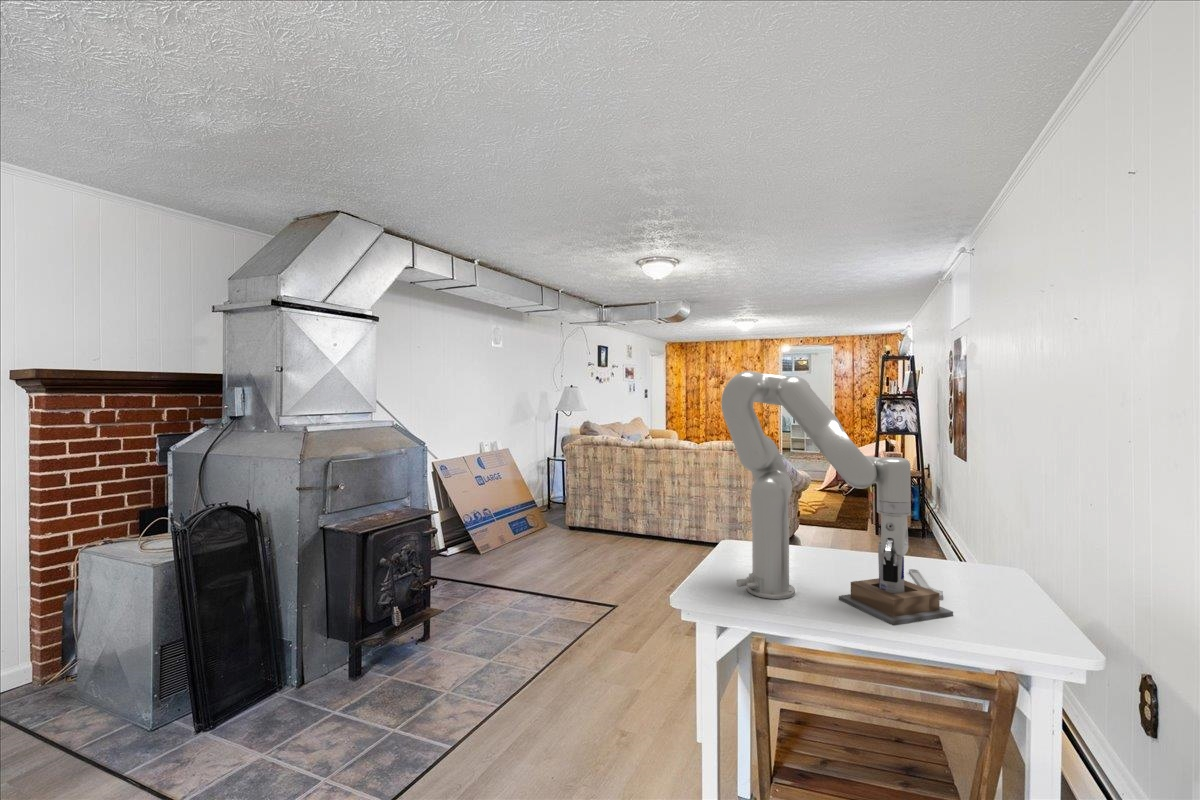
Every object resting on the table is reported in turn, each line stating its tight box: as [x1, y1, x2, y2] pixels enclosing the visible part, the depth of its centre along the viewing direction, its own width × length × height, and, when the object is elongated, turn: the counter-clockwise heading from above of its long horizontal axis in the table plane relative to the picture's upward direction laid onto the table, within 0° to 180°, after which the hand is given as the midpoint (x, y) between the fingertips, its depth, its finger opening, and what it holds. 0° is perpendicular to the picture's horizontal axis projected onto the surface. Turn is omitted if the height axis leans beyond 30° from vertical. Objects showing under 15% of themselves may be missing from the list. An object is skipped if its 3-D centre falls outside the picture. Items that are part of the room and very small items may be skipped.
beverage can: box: [877, 541, 905, 594], centre depth 147 cm, size 6×6×15 cm
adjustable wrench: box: [908, 568, 944, 601], centre depth 164 cm, size 25×6×2 cm, turn 158°
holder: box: [838, 577, 954, 626], centre depth 147 cm, size 18×18×5 cm
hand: (893, 576), depth 147 cm, fingers open, 9 cm apart
